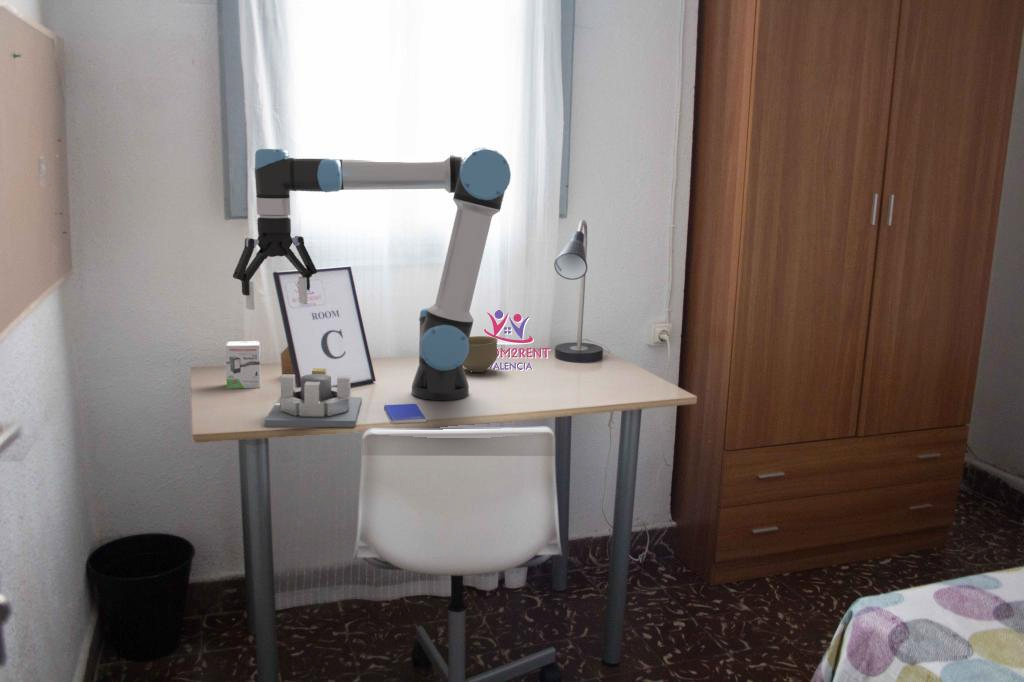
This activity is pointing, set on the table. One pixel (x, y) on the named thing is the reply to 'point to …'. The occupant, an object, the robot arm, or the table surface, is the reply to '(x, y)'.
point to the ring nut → (314, 396)
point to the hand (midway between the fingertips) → (277, 306)
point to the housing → (337, 420)
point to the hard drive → (404, 413)
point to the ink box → (243, 364)
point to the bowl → (481, 353)
